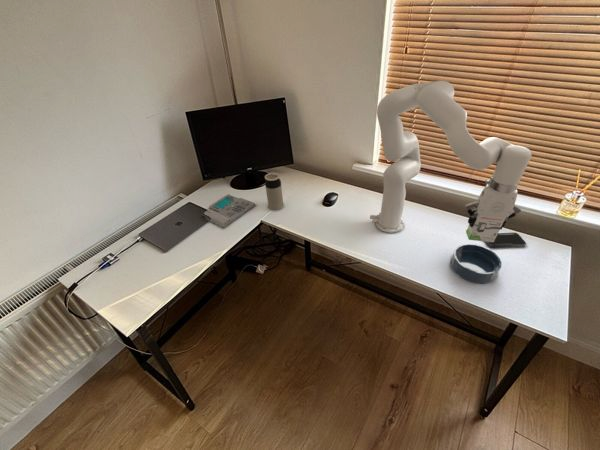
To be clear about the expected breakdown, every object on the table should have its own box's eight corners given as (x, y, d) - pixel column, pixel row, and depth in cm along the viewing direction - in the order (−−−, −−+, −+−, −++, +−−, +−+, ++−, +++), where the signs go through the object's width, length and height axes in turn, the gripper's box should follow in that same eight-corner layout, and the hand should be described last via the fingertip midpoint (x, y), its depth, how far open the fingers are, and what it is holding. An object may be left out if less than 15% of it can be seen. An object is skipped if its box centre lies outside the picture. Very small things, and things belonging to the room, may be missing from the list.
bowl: (454, 281, 115) (458, 271, 111) (447, 252, 127) (450, 242, 124) (502, 286, 112) (507, 276, 108) (489, 255, 124) (494, 245, 121)
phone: (481, 233, 133) (516, 232, 132) (481, 235, 133) (515, 234, 133) (490, 246, 127) (527, 244, 126) (489, 248, 127) (526, 246, 127)
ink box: (468, 240, 111) (479, 214, 103) (465, 231, 114) (475, 206, 107) (494, 242, 109) (506, 217, 102) (490, 233, 113) (502, 208, 105)
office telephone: (223, 224, 147) (196, 212, 156) (224, 229, 148) (197, 216, 158) (255, 201, 161) (228, 190, 170) (255, 205, 163) (229, 194, 172)
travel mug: (283, 210, 158) (279, 179, 146) (267, 210, 158) (263, 180, 147) (283, 201, 164) (280, 171, 153) (269, 202, 164) (264, 172, 153)
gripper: (476, 188, 96) (460, 230, 107) (537, 192, 93) (515, 235, 104) (471, 176, 102) (456, 217, 113) (528, 180, 99) (507, 221, 110)
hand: (484, 225), depth 108 cm, fingers closed on ink box, 8 cm apart
